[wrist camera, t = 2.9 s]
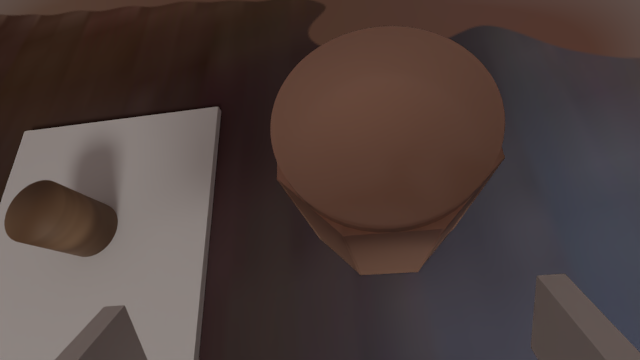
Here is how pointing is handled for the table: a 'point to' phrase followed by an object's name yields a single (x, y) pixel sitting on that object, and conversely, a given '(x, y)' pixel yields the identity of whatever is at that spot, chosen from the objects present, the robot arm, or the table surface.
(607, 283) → the table surface
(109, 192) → the mat
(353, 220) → the brown faceted jar
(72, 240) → the walnut block
